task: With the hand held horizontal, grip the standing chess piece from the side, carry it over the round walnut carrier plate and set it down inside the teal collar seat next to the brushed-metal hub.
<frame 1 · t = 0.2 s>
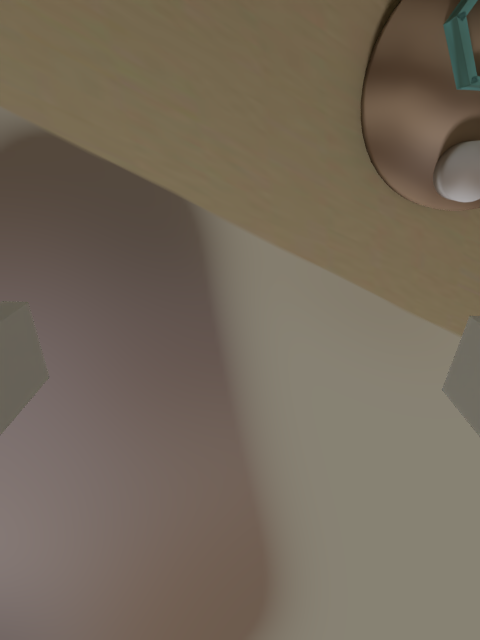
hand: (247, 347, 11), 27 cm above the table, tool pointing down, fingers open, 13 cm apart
carrier: (475, 91, 30), on the table
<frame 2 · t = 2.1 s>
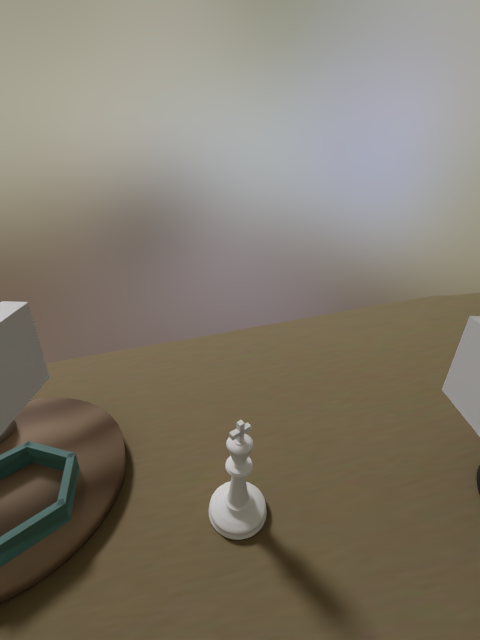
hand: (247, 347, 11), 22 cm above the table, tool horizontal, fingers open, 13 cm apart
carrier: (10, 484, 31), on the table
chess piece: (237, 511, 29), on the table
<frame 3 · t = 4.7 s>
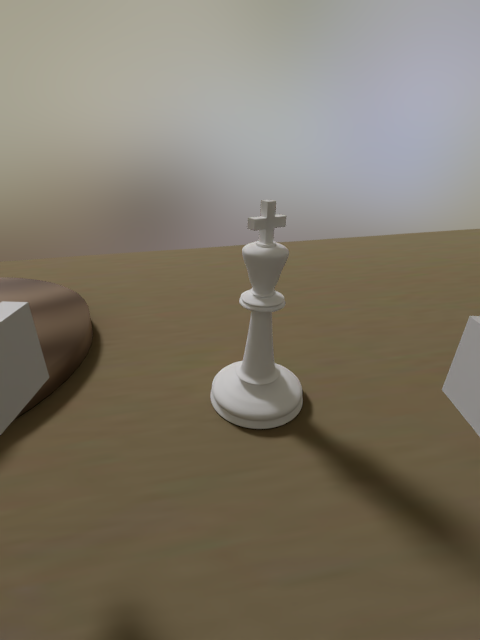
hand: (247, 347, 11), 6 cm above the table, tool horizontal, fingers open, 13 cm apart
chess piece: (256, 398, 18), on the table
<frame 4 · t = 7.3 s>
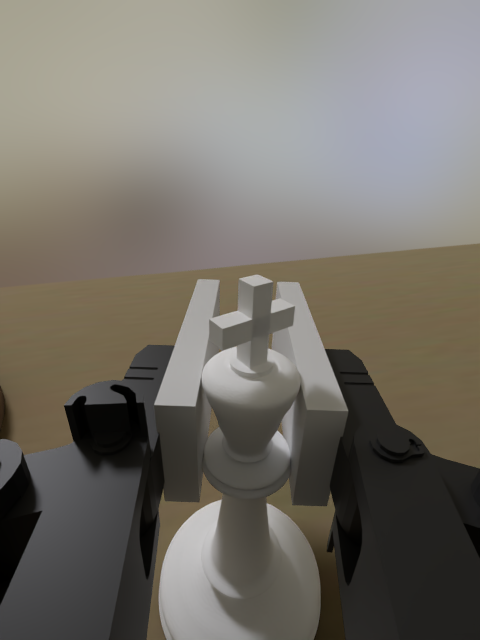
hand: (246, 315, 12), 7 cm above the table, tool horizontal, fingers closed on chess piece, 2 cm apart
chess piece: (239, 585, 11), on the table, touching gripper
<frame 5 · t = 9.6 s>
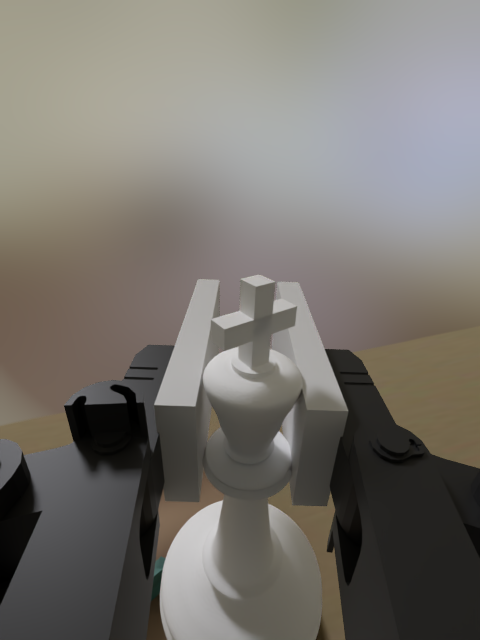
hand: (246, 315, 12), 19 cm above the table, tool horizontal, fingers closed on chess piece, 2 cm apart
carrier: (131, 626, 19), on the table
chess piece: (240, 586, 11), point 12 cm above the table, touching gripper
when the fingers open (9 cm above the table, at t = 12.2 s): chess piece stays where it is, resting on carrier.
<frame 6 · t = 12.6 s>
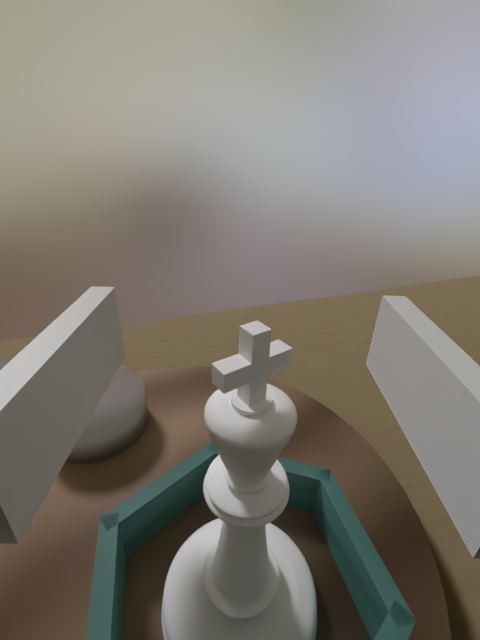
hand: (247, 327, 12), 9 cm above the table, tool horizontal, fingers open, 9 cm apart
carrier: (171, 534, 14), on the table
chess piece: (239, 602, 11), point 1 cm above the table, touching carrier
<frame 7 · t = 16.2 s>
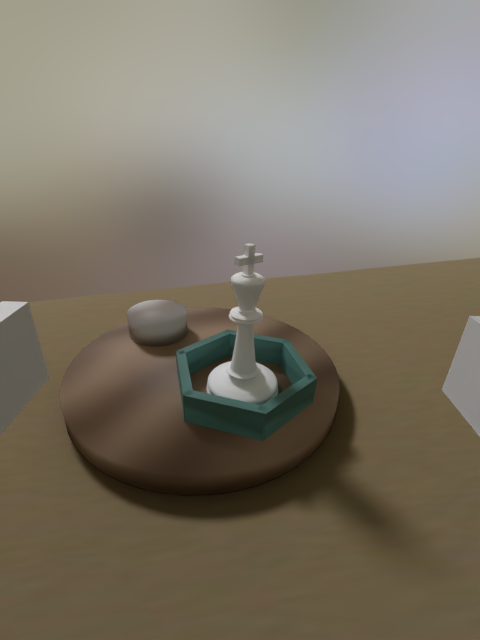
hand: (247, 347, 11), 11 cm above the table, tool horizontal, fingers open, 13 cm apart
carrier: (205, 379, 27), on the table
chess piece: (242, 390, 23), point 1 cm above the table, touching carrier
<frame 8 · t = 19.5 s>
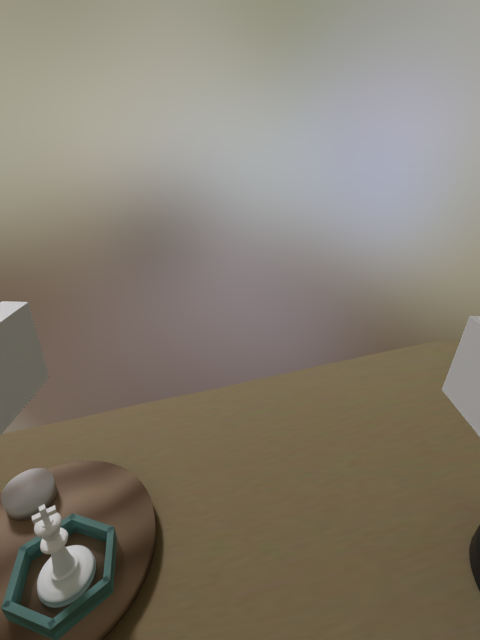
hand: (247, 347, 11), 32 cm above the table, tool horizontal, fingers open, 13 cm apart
carrier: (56, 551, 35), on the table
chess piece: (68, 577, 32), point 1 cm above the table, touching carrier
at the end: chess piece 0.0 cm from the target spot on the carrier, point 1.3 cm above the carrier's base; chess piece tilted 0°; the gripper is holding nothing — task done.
